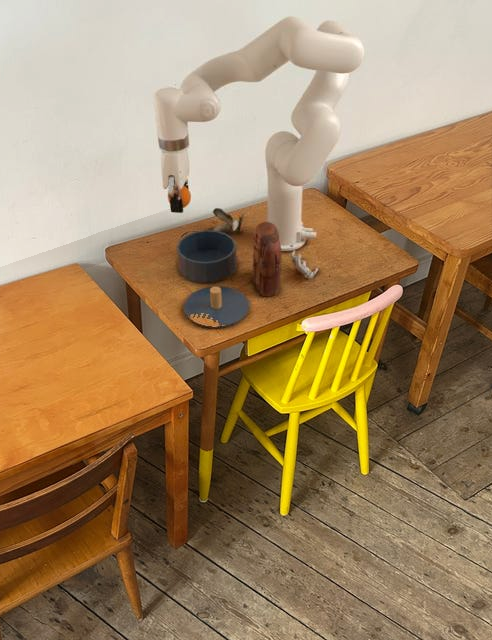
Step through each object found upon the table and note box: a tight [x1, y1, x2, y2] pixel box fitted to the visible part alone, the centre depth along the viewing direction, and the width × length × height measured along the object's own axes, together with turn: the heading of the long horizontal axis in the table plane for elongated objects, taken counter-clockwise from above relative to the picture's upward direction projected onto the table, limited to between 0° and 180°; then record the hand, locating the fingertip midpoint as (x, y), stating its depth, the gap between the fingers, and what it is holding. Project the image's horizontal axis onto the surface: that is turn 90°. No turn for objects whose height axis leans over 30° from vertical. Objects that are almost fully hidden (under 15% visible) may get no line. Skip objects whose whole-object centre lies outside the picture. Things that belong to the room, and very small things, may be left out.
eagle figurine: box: [210, 207, 245, 234], centre depth 213 cm, size 8×7×9 cm
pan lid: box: [183, 285, 250, 329], centre depth 186 cm, size 16×16×6 cm
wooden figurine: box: [252, 221, 282, 297], centre depth 189 cm, size 12×6×18 cm, turn 16°
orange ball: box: [167, 185, 192, 209], centre depth 191 cm, size 6×6×6 cm
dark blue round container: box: [176, 229, 238, 284], centre depth 200 cm, size 16×16×6 cm
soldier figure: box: [289, 249, 319, 282], centre depth 198 cm, size 8×5×12 cm
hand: (180, 204), depth 193 cm, fingers closed on orange ball, 5 cm apart
